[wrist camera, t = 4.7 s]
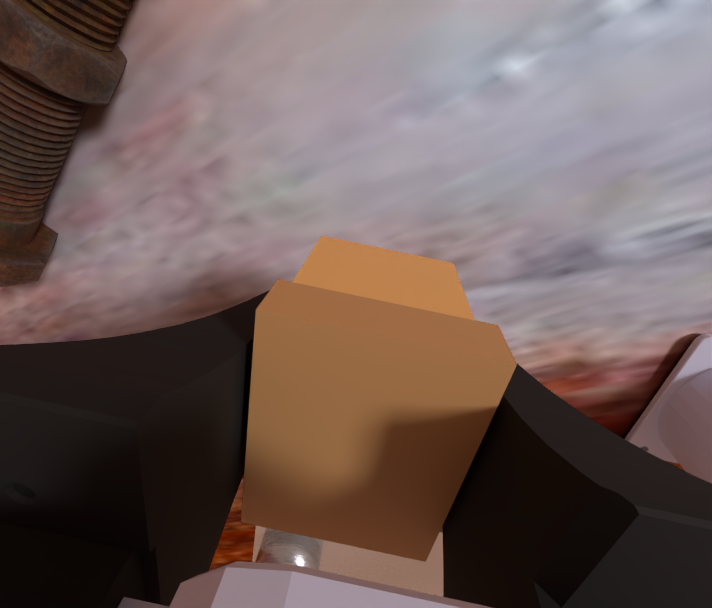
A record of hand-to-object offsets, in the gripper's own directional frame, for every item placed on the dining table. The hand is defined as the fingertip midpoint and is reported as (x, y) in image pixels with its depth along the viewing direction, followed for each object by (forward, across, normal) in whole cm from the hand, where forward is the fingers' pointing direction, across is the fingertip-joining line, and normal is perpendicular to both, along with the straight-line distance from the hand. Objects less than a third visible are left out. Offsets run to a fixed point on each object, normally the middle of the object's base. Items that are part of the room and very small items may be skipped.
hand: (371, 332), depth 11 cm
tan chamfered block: (+2, 0, 0) cm, 2 cm away
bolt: (+9, +15, -3) cm, 18 cm away
